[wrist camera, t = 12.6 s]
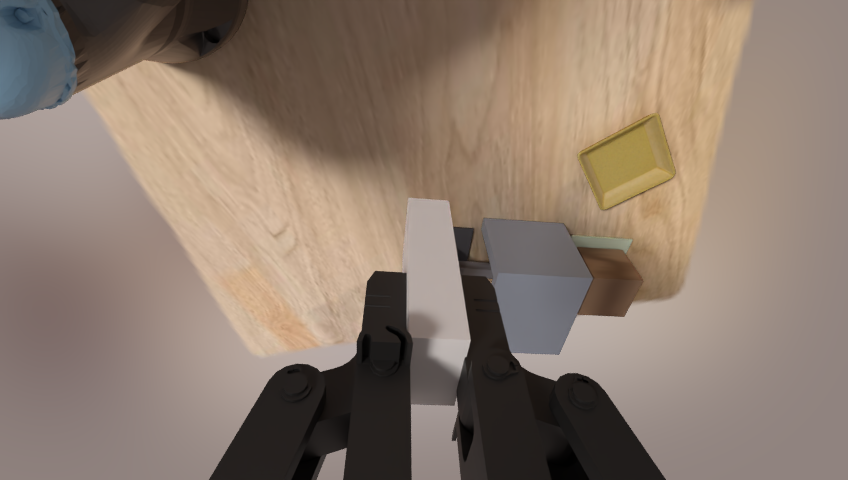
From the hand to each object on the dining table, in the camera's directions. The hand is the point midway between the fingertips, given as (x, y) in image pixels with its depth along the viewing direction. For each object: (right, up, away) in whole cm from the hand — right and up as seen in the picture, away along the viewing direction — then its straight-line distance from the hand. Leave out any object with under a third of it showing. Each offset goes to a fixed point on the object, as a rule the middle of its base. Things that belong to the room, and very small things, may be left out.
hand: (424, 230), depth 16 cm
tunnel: (+12, -3, +39) cm, 41 cm away
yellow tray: (+22, +9, +31) cm, 39 cm away
